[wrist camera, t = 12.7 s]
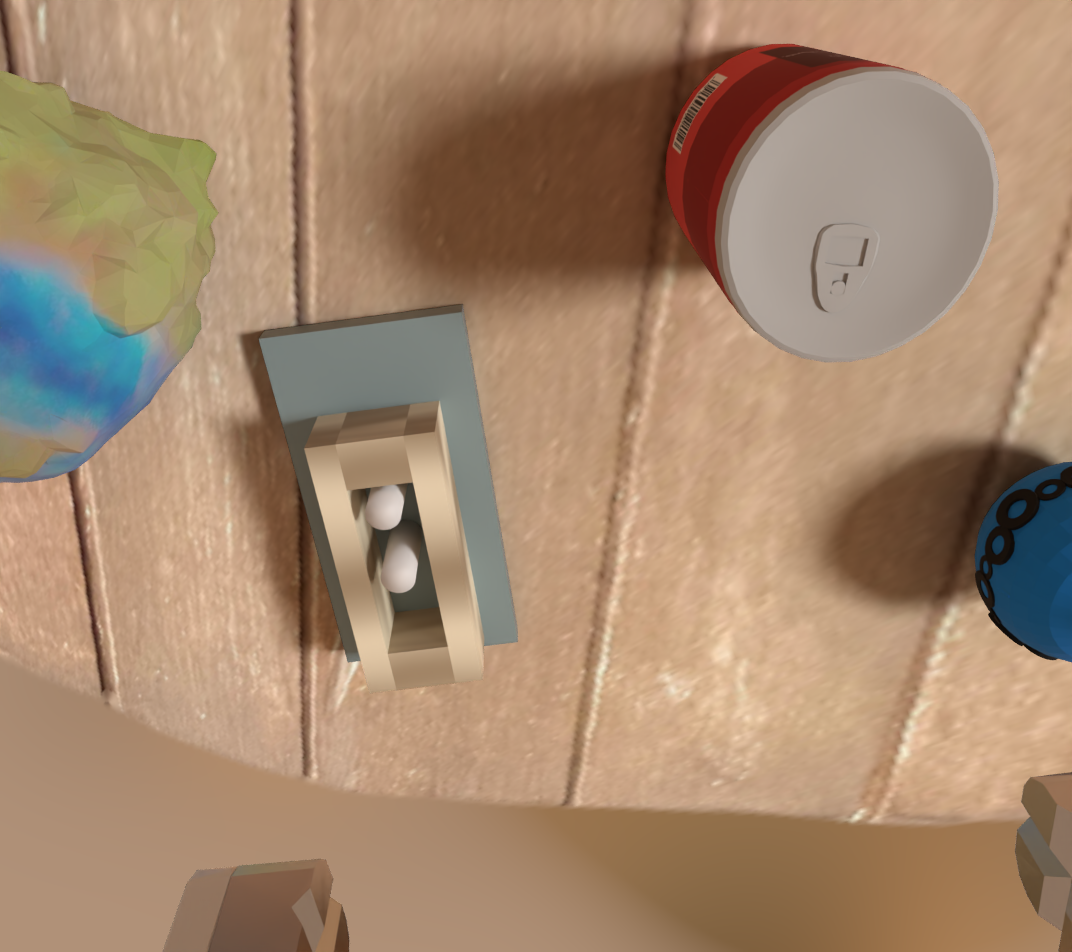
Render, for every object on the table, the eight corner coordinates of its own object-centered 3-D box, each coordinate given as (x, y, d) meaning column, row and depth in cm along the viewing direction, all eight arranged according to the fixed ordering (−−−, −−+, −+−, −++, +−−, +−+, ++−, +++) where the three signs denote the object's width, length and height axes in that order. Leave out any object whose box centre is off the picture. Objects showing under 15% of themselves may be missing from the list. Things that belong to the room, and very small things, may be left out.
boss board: (264, 330, 38) (236, 371, 34) (462, 304, 38) (457, 343, 34) (351, 649, 46) (336, 713, 42) (517, 628, 45) (518, 691, 41)
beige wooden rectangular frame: (317, 416, 39) (304, 448, 36) (439, 400, 39) (434, 431, 36) (377, 650, 45) (369, 693, 42) (484, 637, 44) (483, 680, 42)
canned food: (673, 281, 38) (732, 387, 28) (648, 64, 34) (704, 100, 24) (869, 244, 37) (997, 339, 28) (864, 21, 34) (1009, 40, 24)
